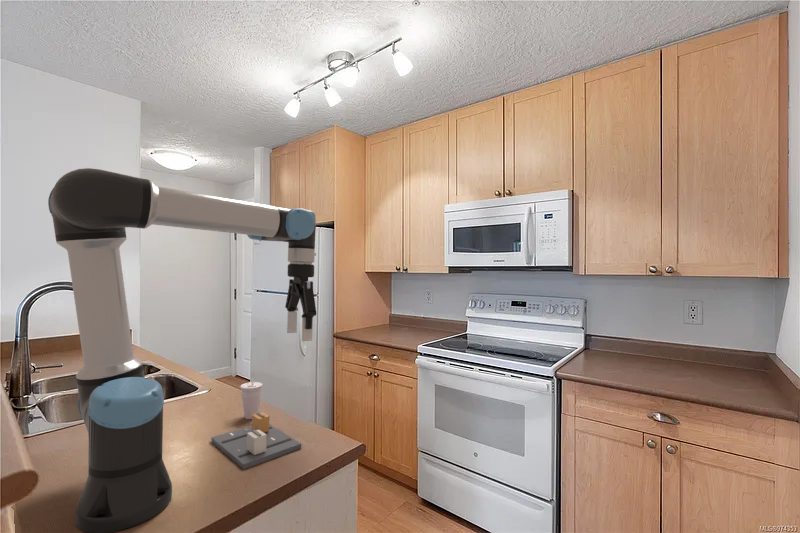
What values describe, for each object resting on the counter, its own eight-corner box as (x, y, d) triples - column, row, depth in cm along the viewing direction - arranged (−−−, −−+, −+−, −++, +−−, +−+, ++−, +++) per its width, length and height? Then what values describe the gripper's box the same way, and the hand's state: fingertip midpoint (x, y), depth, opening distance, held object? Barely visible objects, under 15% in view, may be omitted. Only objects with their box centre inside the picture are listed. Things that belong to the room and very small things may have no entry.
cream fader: (254, 455, 94) (254, 436, 94) (246, 449, 97) (247, 431, 97) (266, 450, 96) (266, 432, 96) (258, 445, 99) (258, 427, 99)
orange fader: (258, 434, 106) (258, 417, 106) (251, 429, 108) (252, 413, 108) (269, 430, 108) (269, 414, 108) (262, 426, 111) (262, 410, 110)
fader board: (243, 469, 90) (243, 463, 90) (211, 441, 104) (211, 436, 104) (301, 448, 101) (301, 443, 101) (265, 425, 114) (265, 421, 114)
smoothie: (247, 422, 116) (248, 375, 116) (235, 417, 120) (236, 371, 120) (266, 416, 121) (267, 370, 121) (254, 411, 125) (255, 366, 125)
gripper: (330, 264, 107) (327, 343, 107) (299, 263, 128) (297, 329, 128) (302, 263, 103) (300, 345, 103) (276, 262, 124) (274, 330, 124)
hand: (299, 336), depth 115 cm, fingers open, 13 cm apart
